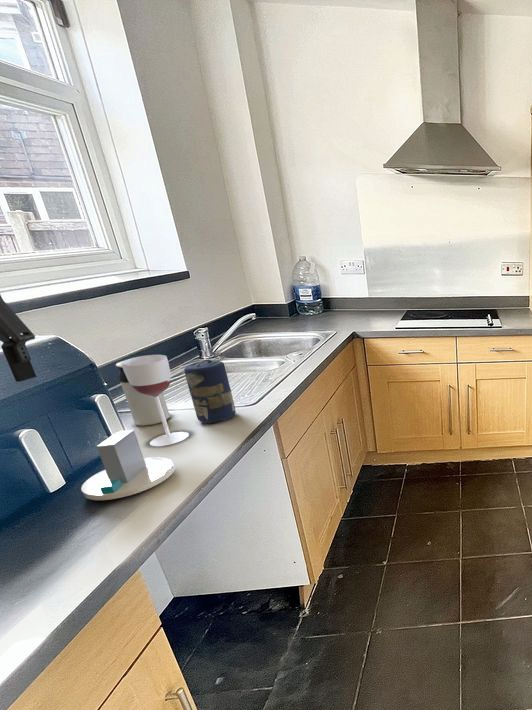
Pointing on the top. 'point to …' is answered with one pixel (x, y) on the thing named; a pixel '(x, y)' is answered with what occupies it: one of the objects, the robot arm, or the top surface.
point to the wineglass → (152, 388)
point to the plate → (135, 484)
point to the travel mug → (142, 403)
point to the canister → (210, 391)
